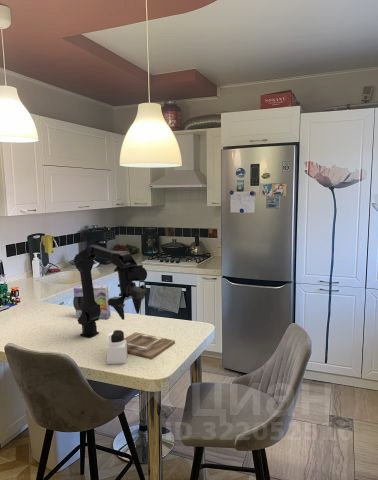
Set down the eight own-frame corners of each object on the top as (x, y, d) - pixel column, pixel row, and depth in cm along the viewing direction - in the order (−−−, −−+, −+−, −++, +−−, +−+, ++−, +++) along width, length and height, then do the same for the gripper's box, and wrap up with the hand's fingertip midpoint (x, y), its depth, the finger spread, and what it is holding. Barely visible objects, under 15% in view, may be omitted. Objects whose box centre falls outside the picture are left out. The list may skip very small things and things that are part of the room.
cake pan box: (73, 318, 205) (71, 286, 203) (77, 315, 210) (75, 284, 208) (107, 320, 202) (106, 287, 200) (111, 316, 207) (109, 285, 205)
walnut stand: (110, 348, 166) (109, 343, 165) (135, 334, 181) (135, 329, 181) (151, 359, 155) (151, 353, 154) (174, 343, 170) (174, 338, 170)
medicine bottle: (127, 355, 158) (126, 328, 157) (125, 363, 151) (123, 335, 150) (110, 356, 158) (108, 328, 156) (107, 364, 151) (105, 335, 149)
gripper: (124, 286, 152) (129, 324, 153) (154, 276, 167) (158, 311, 168) (104, 285, 158) (109, 322, 159) (135, 276, 173) (139, 310, 174)
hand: (130, 316), depth 165 cm, fingers open, 9 cm apart
